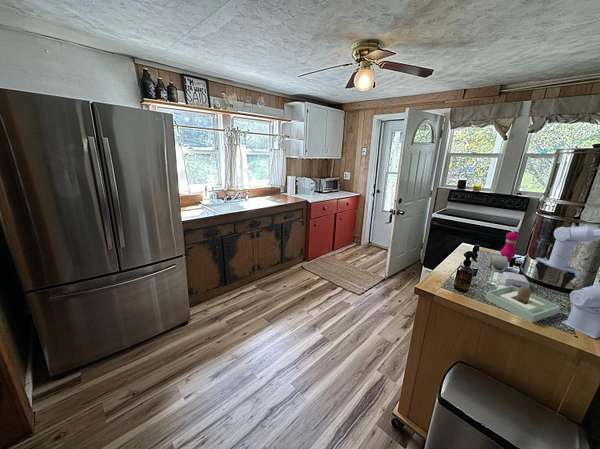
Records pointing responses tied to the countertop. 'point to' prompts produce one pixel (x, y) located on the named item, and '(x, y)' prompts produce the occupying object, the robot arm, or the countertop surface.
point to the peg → (523, 295)
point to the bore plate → (531, 307)
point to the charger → (515, 280)
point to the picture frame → (548, 309)
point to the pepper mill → (509, 245)
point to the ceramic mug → (498, 263)
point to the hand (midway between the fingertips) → (551, 283)
